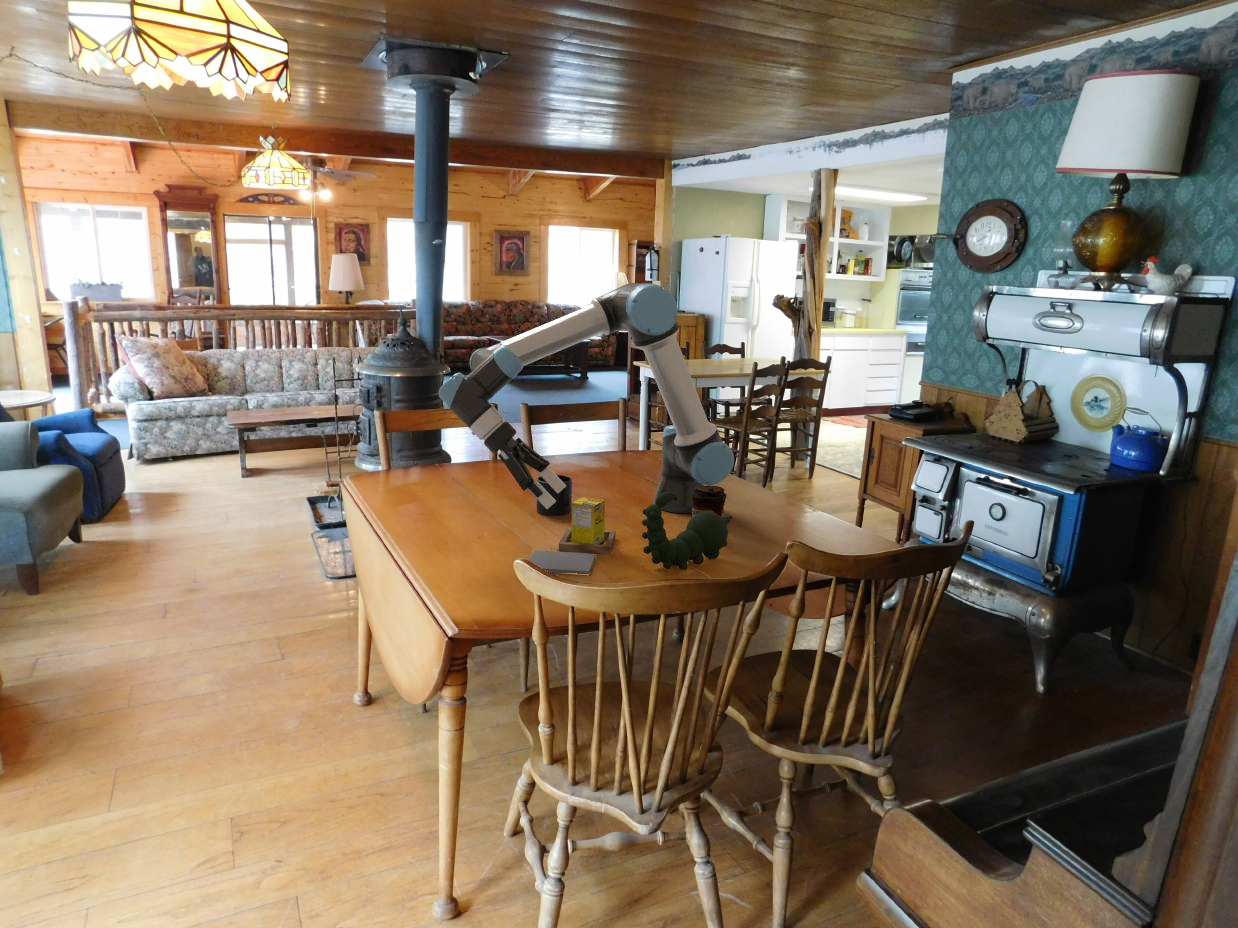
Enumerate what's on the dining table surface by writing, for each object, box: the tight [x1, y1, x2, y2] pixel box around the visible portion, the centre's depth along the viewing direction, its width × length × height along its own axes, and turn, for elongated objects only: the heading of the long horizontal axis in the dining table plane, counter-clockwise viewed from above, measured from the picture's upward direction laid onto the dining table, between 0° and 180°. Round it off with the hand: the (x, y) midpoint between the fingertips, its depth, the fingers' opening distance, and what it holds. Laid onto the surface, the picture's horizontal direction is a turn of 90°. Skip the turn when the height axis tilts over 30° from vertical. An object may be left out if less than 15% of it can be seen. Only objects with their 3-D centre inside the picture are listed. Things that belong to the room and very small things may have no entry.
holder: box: [558, 527, 616, 556], centre depth 187 cm, size 12×12×2 cm
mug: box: [536, 474, 573, 517], centre depth 212 cm, size 9×12×9 cm
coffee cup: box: [691, 485, 727, 518], centre depth 193 cm, size 9×8×13 cm
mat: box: [528, 549, 597, 575], centre depth 174 cm, size 14×11×1 cm
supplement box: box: [570, 496, 606, 545], centre depth 186 cm, size 6×6×11 cm
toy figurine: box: [641, 492, 733, 571], centre depth 176 cm, size 9×19×25 cm
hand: (557, 497), depth 185 cm, fingers open, 13 cm apart
